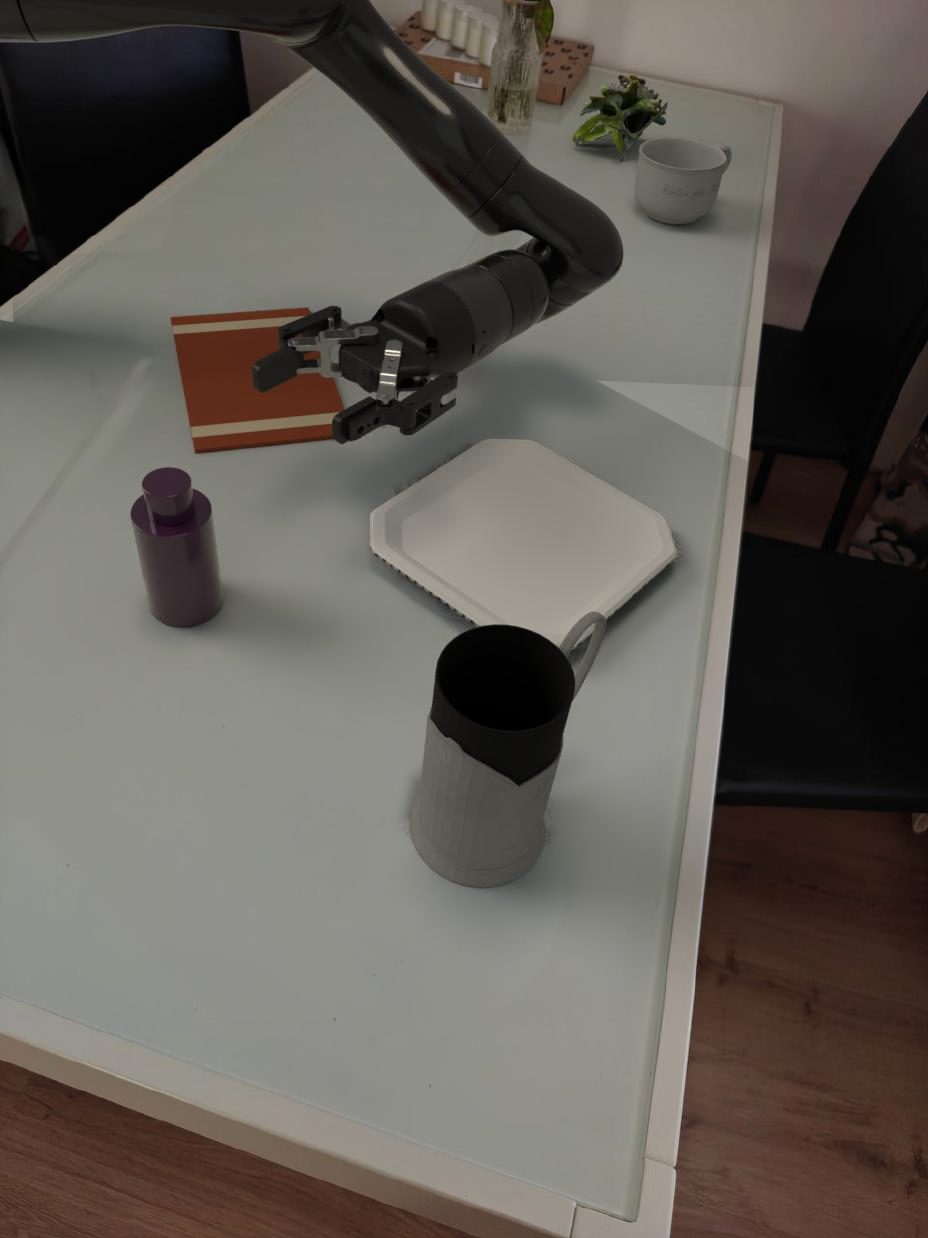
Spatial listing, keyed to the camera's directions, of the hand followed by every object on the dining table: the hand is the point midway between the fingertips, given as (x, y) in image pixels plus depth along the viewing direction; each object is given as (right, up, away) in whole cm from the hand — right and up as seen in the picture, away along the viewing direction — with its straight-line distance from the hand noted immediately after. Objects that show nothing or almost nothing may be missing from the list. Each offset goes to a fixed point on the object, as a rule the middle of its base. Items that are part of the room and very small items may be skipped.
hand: (294, 405), depth 72 cm
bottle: (-9, -14, +3) cm, 17 cm away
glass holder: (+15, -27, -6) cm, 32 cm away
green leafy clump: (+34, +51, +69) cm, 92 cm away
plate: (+17, -10, +10) cm, 22 cm away
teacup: (+40, +37, +57) cm, 79 cm away
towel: (-8, +8, +24) cm, 26 cm away
